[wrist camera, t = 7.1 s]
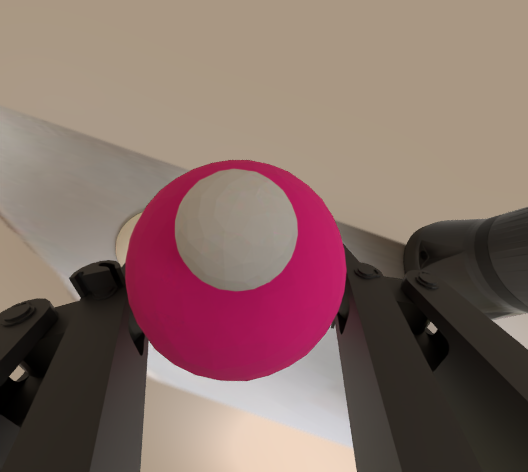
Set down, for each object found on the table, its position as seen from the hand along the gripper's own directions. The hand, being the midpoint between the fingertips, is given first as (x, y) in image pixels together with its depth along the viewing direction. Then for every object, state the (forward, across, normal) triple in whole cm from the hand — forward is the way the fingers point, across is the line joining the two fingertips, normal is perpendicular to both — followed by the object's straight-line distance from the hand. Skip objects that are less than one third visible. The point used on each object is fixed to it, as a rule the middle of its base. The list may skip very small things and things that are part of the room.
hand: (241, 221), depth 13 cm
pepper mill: (+4, 0, -9) cm, 10 cm away
